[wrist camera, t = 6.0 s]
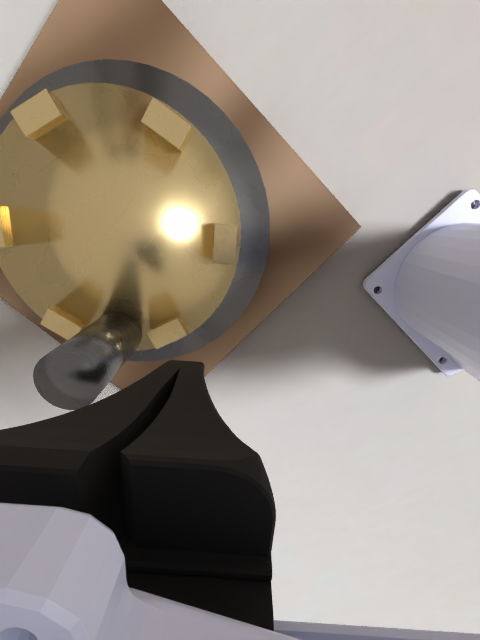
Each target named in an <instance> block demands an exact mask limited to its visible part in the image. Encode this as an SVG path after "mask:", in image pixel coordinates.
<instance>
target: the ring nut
mask: <svg viewBox="0 0 480 640" xmlns="http://www.w3.org/2000/svg"><path fill="white" fill-rule="evenodd" d="M10 112H11V114H12V115H13V117H14V118H13V119H12V120H11V122H10V123H9V124H8V125H7V127H6V128H5V130H4V131H3V133H2V134H1V136H0V267H1V269H2V271H3V273H4V275H5V276H6V278H7V279H8V281H9V283H10V284H11V286H12V287H13V289H14V290H15V291H16V292H17V294H18V295H19V296H20V297H21V299H22V300H23V301H24V302H25V303H26V304H27V305H28V306H29V307H30V308H31V309H32V310H33V311H34V312H35V313H36V314H37V315H38V316H40V317H41V318H42V321H41V323H40V324H41V325H43V326H44V327H46V328H48V329H50V330H51V331H53V332H55V333H57V334H58V335H60V336H62V337H63V338H65V339H67V341H66V342H64V343H63V344H61V345H60V346H59V347H57V348H56V349H54V350H53V351H51V352H50V353H48V354H47V355H46V356H44V357H43V358H42V359H40V360H39V361H38V363H37V364H36V366H35V369H34V374H33V378H34V383H35V386H36V388H37V390H38V392H39V393H40V394H41V396H42V397H43V398H44V399H45V400H47V401H48V402H49V403H51V404H52V405H54V406H57V407H59V408H62V409H67V410H77V409H80V408H83V407H85V406H88V405H90V404H91V403H92V402H93V401H94V400H95V399H96V397H97V396H98V395H99V394H100V393H101V391H102V390H103V389H104V388H105V386H106V385H107V384H108V383H109V382H110V380H111V379H112V378H113V377H114V375H115V374H116V373H117V372H118V371H119V369H120V368H121V367H122V366H123V365H124V363H125V362H126V361H127V360H128V358H129V357H130V356H131V355H132V354H133V352H134V351H139V350H149V349H153V348H156V349H158V348H160V347H163V346H165V345H167V344H170V343H173V342H175V341H177V340H179V339H181V338H183V337H185V336H187V335H188V334H190V333H191V332H193V331H194V330H195V329H197V328H198V327H200V326H201V325H202V324H203V323H204V322H205V321H206V320H207V319H208V318H209V317H210V316H211V315H212V314H213V312H214V311H215V310H216V309H217V307H218V306H219V305H220V303H221V302H222V300H223V298H224V297H225V295H226V293H227V292H228V289H229V287H230V285H231V282H232V280H233V278H234V274H235V271H236V267H237V263H238V259H239V252H240V245H241V221H240V213H239V207H238V203H237V199H236V195H235V192H234V189H233V186H232V184H231V181H230V179H229V176H228V174H227V172H226V170H225V168H224V166H223V164H222V162H221V160H220V159H219V157H218V155H217V154H216V152H215V151H214V149H213V148H212V147H211V145H210V144H209V142H208V141H207V139H206V138H205V137H204V136H203V135H202V134H201V133H200V132H199V131H198V129H197V128H196V127H195V126H194V125H193V124H192V123H191V122H189V121H188V120H187V119H186V118H185V117H184V116H183V115H181V114H180V113H179V112H178V111H176V110H175V109H173V108H172V107H170V106H169V105H167V104H166V103H164V102H163V101H161V100H159V99H157V98H155V97H153V96H151V95H148V94H146V93H144V92H142V91H139V90H135V89H132V88H129V87H126V86H121V85H115V84H108V83H82V84H76V85H70V86H66V87H63V88H60V89H57V90H54V91H49V90H48V89H44V90H42V91H41V92H39V93H38V94H36V95H35V96H33V97H32V98H30V99H29V100H27V101H25V102H24V103H22V104H21V105H19V106H18V107H16V108H15V109H13V110H12V111H10Z"/></svg>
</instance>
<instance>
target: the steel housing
mask: <svg viewBox="0 0 480 640" xmlns="http://www.w3.org/2000/svg"><path fill="white" fill-rule="evenodd" d="M82 83H108V84H115V85H121V86H126V87H129V88H132V89H135V90H139V91H142V92H144V93H146V94H148V95H151V96H153V97H155V98H157V99H159V100H161V101H163V102H164V103H166V104H167V105H169V106H170V107H172V108H173V109H175V110H176V111H178V112H179V113H180V114H181V115H183V116H184V117H185V118H186V119H187V120H188V121H189V122H191V123H192V124H193V125H194V126H195V127H196V128H197V129H198V131H199V132H200V133H201V134H202V135H203V136H204V137H205V138H206V139H207V141H208V142H209V144H210V145H211V147H212V148H213V149H214V151H215V152H216V154H217V155H218V157H219V159H220V160H221V162H222V164H223V166H224V168H225V170H226V172H227V174H228V176H229V179H230V181H231V184H232V186H233V189H234V192H235V195H236V199H237V203H238V207H239V213H240V221H241V245H240V252H239V259H238V263H237V267H236V271H235V274H234V278H233V280H232V282H231V285H230V287H229V289H228V292H227V293H226V295H225V297H224V298H223V300H222V302H221V303H220V305H219V306H218V307H217V309H216V310H215V311H214V312H213V314H212V315H211V316H210V317H209V318H208V319H207V320H206V321H205V322H204V323H203V324H202V325H201V326H200V327H198V328H197V329H195V330H194V331H193V332H191V333H190V334H188V335H187V336H185V337H183V338H181V339H179V340H177V341H175V342H173V343H170V344H167V345H165V346H163V347H160V348H158V349H156V348H153V349H149V350H139V351H134V352H133V354H132V355H131V356H130V357H129V358H128V360H127V361H158V360H165V359H170V358H175V357H178V356H181V355H184V354H187V353H190V352H193V351H195V350H197V349H199V348H201V347H203V346H205V345H207V344H208V343H210V342H211V341H213V340H214V339H216V338H217V337H219V336H220V335H221V334H222V333H224V332H225V331H226V330H227V329H228V328H229V327H231V326H232V324H233V323H234V322H235V321H236V320H237V319H238V318H239V317H240V315H241V314H242V313H243V311H244V310H245V308H246V307H247V306H248V304H249V303H250V301H251V300H252V298H253V296H254V294H255V292H256V290H257V287H258V285H259V283H260V280H261V277H262V274H263V271H264V269H265V265H266V260H267V255H268V250H269V238H270V218H269V207H268V201H267V195H266V190H265V186H264V183H263V180H262V177H261V174H260V170H259V168H258V166H257V163H256V161H255V159H254V157H253V155H252V152H251V150H250V148H249V147H248V145H247V143H246V142H245V140H244V138H243V137H242V135H241V134H240V132H239V130H238V129H237V128H236V127H235V125H234V124H233V123H232V122H231V120H230V119H229V118H228V117H227V115H226V114H225V113H224V112H223V111H222V110H221V109H220V108H219V107H218V106H217V105H216V104H215V103H214V102H213V101H212V100H211V99H210V98H209V97H207V96H206V95H205V94H203V93H202V92H201V91H199V90H198V89H197V88H195V87H194V86H192V85H191V84H190V83H188V82H186V81H184V80H182V79H181V78H179V77H177V76H175V75H173V74H171V73H169V72H167V71H164V70H161V69H159V68H156V67H153V66H150V65H147V64H143V63H138V62H133V61H128V60H112V59H101V60H93V61H84V62H80V63H77V64H73V65H70V66H66V67H63V68H61V69H59V70H57V71H55V72H53V73H50V74H48V75H46V76H44V77H43V78H41V79H40V80H39V81H37V82H36V83H34V84H33V85H32V86H30V87H29V88H28V89H27V90H26V91H25V92H24V93H23V94H22V95H21V96H20V97H19V98H18V99H17V100H16V101H15V102H14V103H13V104H12V105H11V107H10V108H9V109H8V111H7V112H6V114H5V115H4V116H3V118H2V119H1V121H0V136H1V134H2V133H3V131H4V130H5V128H6V127H7V125H8V124H9V123H10V122H11V120H12V119H13V118H14V117H13V115H12V114H11V112H10V111H12V110H13V109H15V108H16V107H18V106H19V105H21V104H22V103H24V102H25V101H27V100H29V99H30V98H32V97H33V96H35V95H36V94H38V93H39V92H41V91H42V90H44V89H48V90H49V91H54V90H57V89H60V88H63V87H66V86H70V85H76V84H82ZM0 268H1V267H0ZM1 270H2V269H1ZM2 272H3V271H2ZM3 274H4V273H3ZM4 276H5V275H4ZM5 277H6V276H5ZM6 279H7V278H6ZM7 281H8V279H7ZM8 282H9V281H8ZM9 284H10V283H9ZM10 286H11V284H10ZM11 287H12V286H11ZM12 289H13V287H12ZM13 290H14V289H13ZM14 291H15V290H14ZM15 293H16V294H17V292H16V291H15ZM17 295H18V294H17ZM18 297H19V298H20V299H21V297H20V296H19V295H18ZM21 301H22V302H23V303H24V304H25V305H26V306H27V307H28V308H29V310H30V311H31V312H32V313H33V314H34V315H35V316H36V317H37V318H38V319H40V320H41V321H42V318H41V317H40V316H38V315H37V314H36V313H35V312H34V311H33V310H32V309H31V308H30V307H29V306H28V305H27V304H26V303H25V302H24V301H23V300H22V299H21ZM66 340H67V339H66Z"/></svg>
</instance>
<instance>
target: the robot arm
mask: <svg viewBox="0 0 480 640" xmlns="http://www.w3.org/2000/svg"><path fill="white" fill-rule="evenodd" d="M473 201H475V203H476V204H475V207H474V208H473V209H472V208H471V203H472V202H473ZM377 286H379V287H380V289H379V291H378V292H377V293H374V288H375V287H377ZM363 287H364V289H365V290H366V291H367V292H368V293H369V294H370V296H371V297H372V298H373V299H374V300H375V301H376V302H377V303H378V304H379V305H380V306H381V307H382V308H383V309H384V311H385V312H386V313H387V314H388V315H389V316H390V317H391V318H392V319H393V320H394V321H395V322H396V323H397V324H398V326H399V327H400V328H401V329H402V330H403V331H404V332H405V333H406V334H407V335H408V336H409V337H410V338H411V339H412V340H413V342H414V343H415V344H416V345H417V346H418V347H419V348H420V349H421V350H422V351H423V352H424V353H425V354H426V355H427V357H428V358H429V359H430V360H431V361H432V362H433V363H434V364H435V365H436V366H437V367H438V368H439V369H440V370H441V372H442V373H444V374H445V375H447V376H452V375H454V374H456V373H457V372H459V371H460V370H461V369H463V370H465V371H466V372H468V373H469V374H470V375H472V376H473V377H475V378H476V379H478V380H479V381H480V194H479V192H478V191H477V190H475V189H467V190H464V191H462V192H461V193H460V194H459V195H458V196H457V197H456V198H454V199H453V200H452V201H451V202H450V203H449V204H448V205H447V206H446V207H444V208H443V209H442V210H441V211H440V212H439V213H438V214H437V215H436V216H434V217H433V218H432V219H431V220H430V221H429V222H428V223H427V224H426V225H424V226H423V227H422V228H421V229H420V230H419V231H418V232H417V233H416V234H414V235H413V236H412V237H411V238H410V239H409V240H408V241H407V242H406V243H404V244H403V245H402V246H401V247H400V248H399V249H398V250H397V251H396V252H394V253H393V254H392V255H391V256H390V257H389V258H388V259H387V260H386V261H384V262H383V263H382V264H381V265H380V266H379V267H378V268H377V269H376V270H374V271H373V272H372V273H371V274H370V275H369V276H368V277H367V278H366V279H365V280H364V282H363ZM442 357H443V359H442V361H439V359H440V358H442ZM204 369H205V365H204V364H203V363H202V362H196V361H181V360H169V361H167V362H165V363H164V364H162V365H161V366H159V367H158V368H157V369H155V370H154V371H152V372H151V373H149V374H147V375H146V376H144V377H143V378H141V379H140V380H138V381H136V382H135V383H133V384H131V385H129V386H128V387H126V388H124V389H123V390H121V391H119V392H117V393H115V394H113V395H111V396H109V397H107V398H105V399H102V400H100V401H98V402H96V403H93V404H91V405H88V406H85V407H83V408H80V409H77V410H74V411H72V412H69V413H66V414H63V415H60V416H56V417H53V418H50V419H46V420H42V421H39V422H35V423H31V424H27V425H23V426H18V427H13V428H8V429H3V430H0V640H480V634H472V633H457V632H442V631H427V630H412V629H397V628H382V627H367V626H352V625H337V624H322V623H307V622H292V621H277V620H273V605H272V590H271V580H272V562H271V549H272V542H273V535H274V528H275V521H276V509H275V502H274V498H273V493H272V489H271V486H270V482H269V479H268V476H267V473H266V470H265V468H264V465H263V463H262V460H261V458H260V456H259V454H258V453H256V452H255V451H254V450H252V449H251V448H250V447H249V446H247V445H246V444H245V443H243V442H242V441H241V440H240V439H239V438H238V437H237V436H235V434H234V433H233V432H232V431H231V430H230V428H229V427H228V426H227V425H226V424H225V422H224V421H223V419H222V418H221V416H220V415H219V413H218V412H217V410H216V408H215V406H214V404H213V402H212V400H211V398H210V395H209V393H208V390H207V387H206V383H205V380H204Z"/></svg>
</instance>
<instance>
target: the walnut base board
mask: <svg viewBox="0 0 480 640" xmlns="http://www.w3.org/2000/svg"><path fill="white" fill-rule="evenodd" d="M101 59H112V60H128V61H133V62H138V63H143V64H147V65H150V66H153V67H156V68H159V69H161V70H164V71H167V72H169V73H171V74H173V75H175V76H177V77H179V78H181V79H182V80H184V81H186V82H188V83H190V84H191V85H192V86H194V87H195V88H197V89H198V90H199V91H201V92H202V93H203V94H205V95H206V96H207V97H209V98H210V99H211V100H212V101H213V102H214V103H215V104H216V105H217V106H218V107H219V108H220V109H221V110H222V111H223V112H224V113H225V114H226V115H227V117H228V118H229V119H230V120H231V122H232V123H233V124H234V125H235V127H236V128H237V129H238V130H239V132H240V134H241V135H242V137H243V138H244V140H245V142H246V143H247V145H248V147H249V148H250V150H251V152H252V155H253V157H254V159H255V161H256V163H257V166H258V168H259V170H260V174H261V177H262V180H263V183H264V186H265V190H266V195H267V201H268V207H269V218H270V238H269V250H268V255H267V260H266V265H265V269H264V271H263V274H262V277H261V280H260V283H259V285H258V287H257V290H256V292H255V294H254V296H253V298H252V300H251V301H250V303H249V304H248V306H247V307H246V308H245V310H244V311H243V313H242V314H241V315H240V317H239V318H238V319H237V320H236V321H235V322H234V323H233V324H232V326H231V327H229V328H228V329H227V330H226V331H225V332H224V333H222V334H221V335H220V336H219V337H217V338H216V339H214V340H213V341H211V342H210V343H208V344H207V345H205V346H203V347H201V348H199V349H197V350H195V351H193V352H190V353H187V354H184V355H181V356H178V357H175V358H170V359H165V360H158V361H126V362H125V363H124V365H123V366H122V367H121V368H120V369H119V371H118V372H117V373H116V374H115V375H114V377H113V378H112V379H111V380H110V381H111V382H112V383H113V384H115V385H116V386H117V387H119V388H120V389H121V390H123V389H124V388H126V387H128V386H129V385H131V384H133V383H135V382H136V381H138V380H140V379H141V378H143V377H144V376H146V375H147V374H149V373H151V372H152V371H154V370H155V369H157V368H158V367H159V366H161V365H162V364H164V363H165V362H167V361H169V360H181V361H196V362H202V363H203V364H204V365H205V369H204V376H205V375H206V374H208V373H209V372H210V371H211V370H212V369H213V368H214V367H215V366H216V365H217V364H218V363H219V362H220V361H221V360H222V359H223V358H224V357H225V356H226V355H227V354H228V353H230V352H231V351H232V350H233V349H234V348H235V347H236V346H237V345H238V344H239V343H240V342H241V341H242V340H243V339H244V338H245V337H246V336H247V335H248V334H249V333H250V332H252V331H253V330H254V329H255V328H256V327H257V326H258V325H259V324H260V323H261V322H262V321H263V320H264V319H265V318H266V317H267V316H268V315H269V314H270V313H271V312H272V311H274V310H275V309H276V308H277V307H278V306H279V305H280V304H281V303H282V302H283V301H284V300H285V299H286V298H287V297H288V296H289V295H290V294H291V293H292V292H293V291H294V290H296V289H297V288H298V287H299V286H300V285H301V284H302V283H303V282H304V281H305V280H306V279H307V278H308V277H309V276H310V275H311V274H312V273H313V272H314V271H315V270H316V269H317V268H319V267H320V266H321V265H322V264H323V263H324V262H325V261H326V260H327V259H328V258H329V257H330V256H331V255H332V254H333V253H334V252H335V251H336V250H337V249H338V248H339V247H341V246H342V245H343V244H344V243H345V242H346V241H347V240H348V239H349V238H350V237H351V236H352V235H353V234H354V233H355V232H356V231H357V230H358V229H359V228H360V227H361V226H360V225H359V224H358V223H357V221H356V220H355V219H354V218H353V217H352V216H351V215H350V214H349V212H348V211H347V210H346V209H345V208H344V207H343V206H342V204H341V203H340V202H339V201H338V200H337V199H336V198H335V197H334V195H333V194H332V193H331V192H330V191H329V190H328V189H327V187H326V186H325V185H324V184H323V183H322V182H321V181H320V180H319V178H318V177H317V176H316V175H315V174H314V173H313V172H312V170H311V169H310V168H309V167H308V166H307V165H306V164H305V163H304V161H303V160H302V159H301V158H300V157H299V156H298V155H297V153H296V152H295V151H294V150H293V149H292V148H291V147H290V146H289V144H288V143H287V142H286V141H285V140H284V139H283V138H282V136H281V135H280V134H279V133H278V132H277V131H276V130H275V129H274V127H273V126H272V125H271V124H270V123H269V122H268V121H267V119H266V118H265V117H264V116H263V115H262V114H261V113H260V112H259V110H258V109H257V108H256V107H255V106H254V105H253V104H252V102H251V101H250V100H249V99H248V98H247V97H246V96H245V94H244V93H243V92H242V91H241V90H240V89H239V88H238V87H237V85H236V84H235V83H234V82H233V81H232V80H231V79H230V77H229V76H228V75H227V74H226V73H225V72H224V71H223V70H222V68H221V67H220V66H219V65H218V64H217V63H216V62H215V60H214V59H213V58H212V57H211V56H210V55H209V54H208V53H207V51H206V50H205V49H204V48H203V47H202V46H201V45H200V43H199V42H198V41H197V40H196V39H195V38H194V37H193V36H192V34H191V33H190V32H189V31H188V30H187V29H186V28H185V26H184V25H183V24H182V23H181V22H180V21H179V20H178V19H177V17H176V16H175V15H174V14H173V13H172V12H171V11H170V9H169V8H168V7H167V6H166V5H165V4H164V3H163V2H162V0H59V2H58V3H57V5H56V7H55V9H54V10H53V12H52V14H51V15H50V17H49V19H48V20H47V22H46V24H45V25H44V27H43V29H42V30H41V32H40V34H39V36H38V37H37V39H36V41H35V42H34V44H33V46H32V47H31V49H30V51H29V52H28V54H27V56H26V57H25V59H24V61H23V63H22V64H21V66H20V68H19V69H18V71H17V73H16V74H15V76H14V78H13V79H12V81H11V83H10V84H9V86H8V88H7V90H6V91H5V93H4V95H3V96H2V98H1V100H0V121H1V119H2V118H3V116H4V115H5V114H6V112H7V111H8V109H9V108H10V107H11V105H12V104H13V103H14V102H15V101H16V100H17V99H18V98H19V97H20V96H21V95H22V94H23V93H24V92H25V91H26V90H27V89H28V88H29V87H30V86H32V85H33V84H34V83H36V82H37V81H39V80H40V79H41V78H43V77H44V76H46V75H48V74H50V73H53V72H55V71H57V70H59V69H61V68H63V67H66V66H70V65H73V64H77V63H80V62H84V61H93V60H101ZM0 297H1V298H2V299H4V300H5V301H6V302H7V303H9V304H10V305H11V306H13V307H14V308H15V309H17V310H18V311H19V312H21V313H22V314H23V315H24V316H26V317H27V318H28V319H30V320H31V321H32V322H34V323H35V324H36V325H38V326H39V327H40V328H41V329H43V330H44V331H45V332H47V333H48V334H49V335H51V336H52V337H53V338H54V339H56V340H57V341H58V342H60V343H61V344H63V343H64V342H66V341H67V340H66V339H65V338H63V337H62V336H60V335H58V334H57V333H55V332H53V331H51V330H50V329H48V328H46V327H44V326H43V325H41V324H40V323H41V320H40V319H38V318H37V317H36V316H35V315H34V314H33V313H32V312H31V311H30V310H29V308H28V307H27V306H26V305H25V304H24V303H23V302H22V301H21V299H20V298H19V297H18V295H17V294H16V293H15V291H14V290H13V289H12V287H11V286H10V284H9V282H8V281H7V279H6V277H5V276H4V274H3V272H2V270H1V268H0Z"/></svg>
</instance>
